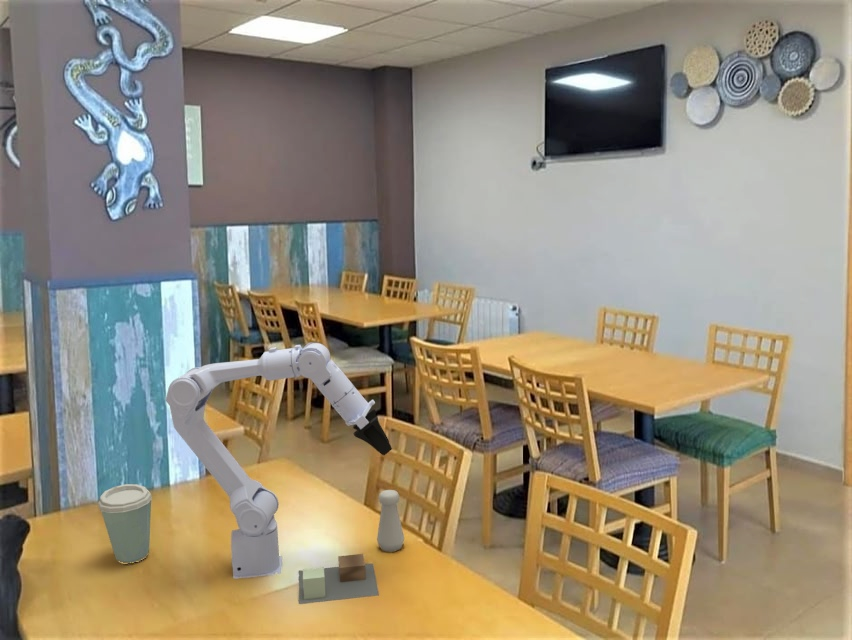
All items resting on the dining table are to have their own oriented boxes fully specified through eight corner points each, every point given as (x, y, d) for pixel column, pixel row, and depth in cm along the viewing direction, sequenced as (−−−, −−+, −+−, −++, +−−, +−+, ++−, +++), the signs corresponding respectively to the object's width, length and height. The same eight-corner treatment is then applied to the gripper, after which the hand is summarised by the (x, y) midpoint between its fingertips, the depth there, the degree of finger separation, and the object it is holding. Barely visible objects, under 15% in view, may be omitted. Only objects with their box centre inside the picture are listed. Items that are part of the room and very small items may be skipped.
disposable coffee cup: (166, 556, 165) (160, 490, 163) (118, 575, 158) (111, 506, 155) (142, 542, 173) (136, 478, 170) (95, 560, 165) (88, 493, 162)
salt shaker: (401, 556, 162) (398, 498, 160) (374, 554, 163) (372, 496, 161) (407, 544, 168) (405, 487, 166) (381, 542, 169) (379, 486, 167)
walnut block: (340, 582, 151) (339, 567, 151) (338, 570, 156) (338, 556, 156) (365, 579, 152) (365, 565, 151) (363, 567, 157) (363, 553, 156)
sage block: (304, 599, 145) (302, 579, 145) (304, 588, 149) (302, 569, 148) (325, 596, 146) (324, 577, 145) (324, 586, 150) (323, 567, 149)
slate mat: (298, 606, 144) (298, 603, 144) (299, 573, 156) (298, 570, 156) (379, 598, 146) (379, 595, 146) (372, 565, 159) (372, 563, 159)
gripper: (360, 386, 145) (405, 442, 146) (357, 378, 159) (399, 429, 160) (330, 410, 144) (376, 466, 145) (330, 400, 159) (372, 451, 160)
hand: (386, 448), depth 153 cm, fingers open, 7 cm apart
